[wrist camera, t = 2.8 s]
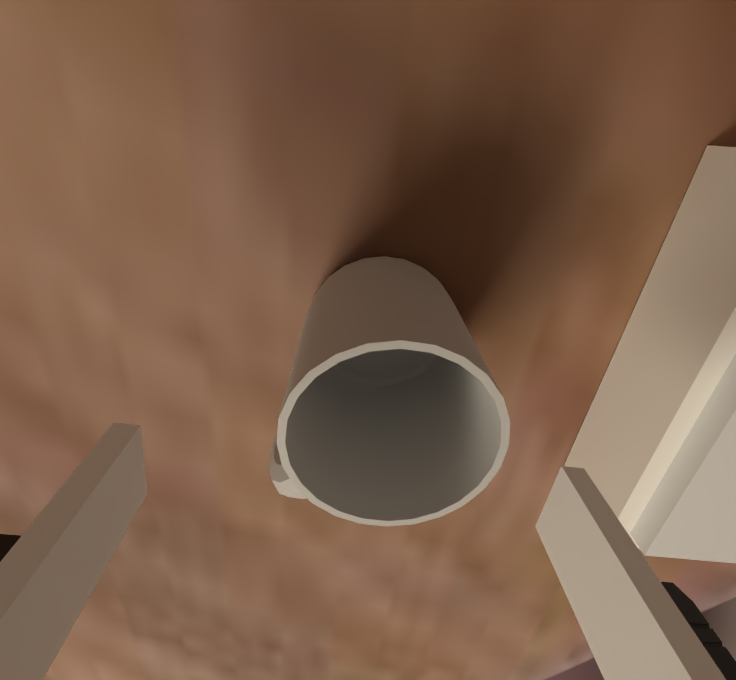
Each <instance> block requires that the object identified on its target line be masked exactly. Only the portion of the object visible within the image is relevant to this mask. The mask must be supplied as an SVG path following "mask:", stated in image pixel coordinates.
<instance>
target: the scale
mask: <svg viewBox="0 0 736 680" xmlns="http://www.w3.org/2000/svg"><path fill="white" fill-rule="evenodd" d="M564 466H566V467H576V468H584V469H585V470H586V472H587V473H588V475H589V476H590V478H591V479H592V481H593V482H594V484H595V485H596V487H597V488H598V490H599V491H600V493H601V494H602V496H603V497H604V499H605V500H606V502H607V503H608V505H609V506H610V508H611V509H612V511H613V512H614V514H615V515H616V517H617V518H618V520H619V521H620V523H621V524H622V526H623V527H624V528H625V530H626V531H627V533H628V534H629V536H630V537H631V539H632V540H633V542H634V543H635V545H636V546H637V548H638V549H641V551H642V552H643V554H644V555H646V556H658V557H670V558H681V559H693V560H704V561H716V562H727V563H736V147H725V146H710V145H707V147H706V149H705V151H704V154H703V156H702V158H701V160H700V163H699V165H698V167H697V169H696V172H695V174H694V176H693V178H692V181H691V183H690V185H689V187H688V190H687V192H686V194H685V196H684V198H683V201H682V203H681V205H680V207H679V210H678V212H677V214H676V216H675V219H674V221H673V223H672V225H671V228H670V230H669V232H668V234H667V236H666V239H665V241H664V243H663V245H662V248H661V250H660V252H659V254H658V257H657V259H656V261H655V263H654V266H653V268H652V270H651V272H650V274H649V277H648V279H647V281H646V283H645V286H644V288H643V290H642V292H641V295H640V297H639V299H638V301H637V304H636V306H635V308H634V310H633V312H632V315H631V317H630V319H629V321H628V324H627V326H626V328H625V330H624V333H623V335H622V337H621V339H620V342H619V344H618V346H617V348H616V351H615V353H614V355H613V357H612V359H611V362H610V364H609V366H608V368H607V371H606V373H605V375H604V377H603V380H602V382H601V384H600V386H599V389H598V391H597V393H596V395H595V397H594V400H593V402H592V404H591V406H590V409H589V411H588V413H587V415H586V418H585V420H584V422H583V424H582V427H581V429H580V431H579V433H578V435H577V438H576V440H575V442H574V444H573V447H572V449H571V451H570V453H569V456H568V458H567V460H566V462H565V465H564Z"/></svg>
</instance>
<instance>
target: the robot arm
mask: <svg viewBox="0 0 736 680" xmlns="http://www.w3.org/2000/svg"><path fill="white" fill-rule="evenodd" d="M146 496H147V486H146V476H145V466H144V455H143V445H142V435H141V425H131V424H121V423H113V424H112V425H111V427H110V428H109V429H108V430H107V432H106V433H105V434H104V435H103V437H102V438H101V439H100V440H99V441H98V443H97V444H96V445H95V446H94V448H93V449H92V450H91V451H90V452H89V454H88V455H87V456H86V457H85V459H84V460H83V461H82V462H81V463H80V465H79V466H78V467H77V468H76V470H75V471H74V472H73V473H72V475H71V476H70V477H69V478H68V479H67V481H66V482H65V483H64V484H63V486H62V487H61V488H60V489H59V490H58V492H57V493H56V494H55V495H54V497H53V498H52V499H51V500H50V502H49V503H48V504H47V505H46V506H45V508H44V509H43V510H42V511H41V513H40V514H39V515H38V516H37V517H36V519H35V520H34V521H33V522H32V524H31V525H30V526H29V527H28V528H27V530H26V531H25V532H24V533H23V535H22V536H19V535H5V534H0V680H43V678H44V676H45V675H46V673H47V671H48V669H49V667H50V666H51V664H52V662H53V660H54V659H55V657H56V655H57V653H58V652H59V650H60V648H61V646H62V644H63V643H64V641H65V639H66V637H67V636H68V634H69V632H70V630H71V629H72V627H73V625H74V623H75V621H76V620H77V618H78V616H79V614H80V613H81V611H82V609H83V607H84V606H85V604H86V602H87V600H88V598H89V597H90V595H91V593H92V591H93V590H94V588H95V586H96V584H97V582H98V581H99V579H100V577H101V575H102V574H103V572H104V570H105V568H106V567H107V565H108V563H109V561H110V559H111V558H112V556H113V554H114V552H115V551H116V549H117V547H118V545H119V544H120V542H121V540H122V538H123V536H124V535H125V533H126V531H127V529H128V528H129V526H130V524H131V522H132V521H133V519H134V517H135V515H136V513H137V512H138V510H139V508H140V506H141V505H142V503H143V501H144V499H145V498H146ZM535 527H536V529H537V532H538V534H539V536H540V538H541V540H542V543H543V545H544V547H545V549H546V552H547V554H548V556H549V558H550V560H551V563H552V565H553V567H554V569H555V571H556V574H557V576H558V578H559V580H560V582H561V585H562V587H563V589H564V591H565V594H566V596H567V598H568V600H569V602H570V605H571V607H572V609H573V611H574V613H575V616H576V618H577V620H578V622H579V624H580V627H581V629H582V631H583V633H584V636H585V638H586V640H587V642H588V644H589V647H590V649H591V651H592V653H593V655H594V658H595V660H596V662H597V664H598V666H599V669H600V671H601V673H602V675H603V677H604V680H736V661H735V660H734V658H733V657H732V656H731V654H730V653H729V651H728V650H727V649H726V648H725V647H723V646H722V642H721V640H720V639H719V638H718V636H717V635H716V633H715V632H714V630H713V629H710V627H709V624H708V622H707V621H706V619H705V618H704V616H703V615H702V614H701V612H700V611H699V609H698V608H697V607H696V605H695V604H694V602H693V601H692V600H690V599H689V598H688V597H687V596H686V595H685V594H684V593H683V592H682V591H681V590H680V589H679V588H678V587H677V586H676V585H675V584H673V583H669V582H660V581H659V579H658V578H657V576H656V575H655V573H654V572H653V570H652V569H651V567H650V566H649V564H648V563H647V561H646V560H645V558H644V557H643V555H642V554H641V552H640V551H639V549H638V548H637V546H636V545H635V543H634V542H633V540H632V539H631V537H630V536H629V534H628V533H627V531H626V530H625V528H624V527H623V526H622V524H621V523H620V521H619V520H618V518H617V517H616V515H615V514H614V512H613V511H612V509H611V508H610V506H609V505H608V503H607V502H606V500H605V499H604V497H603V496H602V494H601V493H600V491H599V490H598V488H597V487H596V485H595V484H594V482H593V481H592V479H591V478H590V476H589V475H588V473H587V472H586V470H585V469H584V468H576V467H566V466H561V469H560V471H559V473H558V475H557V478H556V480H555V482H554V485H553V487H552V489H551V492H550V494H549V496H548V499H547V501H546V503H545V505H544V508H543V510H542V512H541V515H540V517H539V519H538V522H537V524H536V526H535Z"/></svg>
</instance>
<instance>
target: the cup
mask: <svg viewBox="0 0 736 680" xmlns="http://www.w3.org/2000/svg"><path fill="white" fill-rule="evenodd" d="M509 433H510V419H509V416H508V412H507V409H506V405H505V402H504V398H503V396H502V394H501V392H500V390H499V388H498V386H497V385H496V383H495V381H494V379H493V377H492V375H491V373H490V371H489V369H488V367H487V365H486V364H485V362H484V360H483V358H482V356H481V354H480V352H479V350H478V348H477V346H476V344H475V343H474V341H473V339H472V337H471V335H470V333H469V331H468V329H467V327H466V325H465V324H464V322H463V320H462V318H461V316H460V314H459V312H458V310H457V308H456V306H455V304H454V303H453V301H452V299H451V298H450V296H449V295H448V293H447V292H446V290H445V289H444V287H443V286H442V284H441V283H440V282H439V280H438V279H437V278H435V277H434V276H433V275H432V274H430V273H429V272H428V271H427V270H426V269H424V268H423V267H421V266H419V265H417V264H414V263H412V262H410V261H408V260H405V259H400V258H393V257H387V256H381V257H371V258H363V259H361V260H358V261H355V262H353V263H350V264H347V265H345V266H343V267H342V268H340V269H339V270H338V271H336V272H335V273H333V274H332V275H331V276H329V277H328V278H327V279H326V281H325V282H324V283H323V284H322V286H321V287H320V288H319V289H318V291H317V292H316V294H315V296H314V298H313V301H312V303H311V305H310V308H309V310H308V312H307V315H306V318H305V322H304V326H303V330H302V333H301V337H300V341H299V344H298V348H297V352H296V356H295V359H294V363H293V367H292V370H291V374H290V378H289V382H288V385H287V389H286V393H285V396H284V400H283V404H282V408H281V411H280V415H279V420H278V431H277V434H276V437H275V439H274V442H273V446H272V450H271V453H270V459H269V473H270V476H271V479H272V481H273V483H274V485H275V487H276V489H277V490H278V492H279V493H280V494H282V495H285V496H288V497H293V498H301V499H305V498H307V499H308V500H310V501H311V502H312V503H313V504H315V505H316V506H318V507H320V508H322V509H324V510H325V511H327V512H329V513H331V514H333V515H334V516H337V517H340V518H343V519H347V520H350V521H353V522H356V523H360V524H368V525H378V526H398V525H410V524H417V523H420V522H424V521H428V520H431V519H435V518H438V517H441V516H443V515H445V514H447V513H449V512H451V511H453V510H455V509H457V508H459V507H461V506H463V505H465V504H466V503H467V502H469V501H470V500H471V499H472V498H474V497H475V496H476V495H477V494H479V493H480V492H481V491H482V490H484V489H485V487H486V486H487V485H488V484H489V482H490V481H491V480H492V478H493V477H494V476H495V474H496V473H497V472H498V470H499V469H500V467H501V464H502V462H503V459H504V457H505V454H506V452H507V449H508V446H509Z"/></svg>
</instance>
